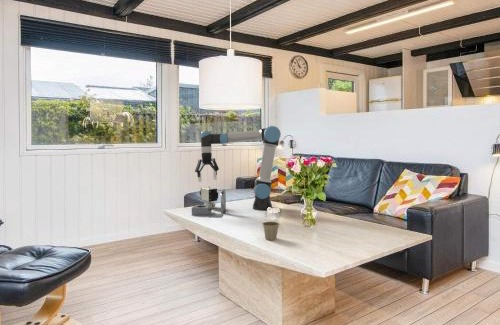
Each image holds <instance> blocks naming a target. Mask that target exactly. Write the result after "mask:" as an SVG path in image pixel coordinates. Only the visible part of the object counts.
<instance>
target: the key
mask: <svg viewBox="0 0 500 325" xmlns="http://www.w3.org/2000/svg"><path fill="white" fill-rule="evenodd" d="M226 196H227V195H226V189H222V190H221V191H220V214H223V215H226V214H227V205H226V203H227V202H226V201H227V200H226Z"/></svg>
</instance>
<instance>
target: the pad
mask: <svg viewBox="0 0 500 325" xmlns="http://www.w3.org/2000/svg"><path fill="white" fill-rule="evenodd" d="M223 216H224V214H221V213H210V214H209V215H208V218H222V217H223Z"/></svg>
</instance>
